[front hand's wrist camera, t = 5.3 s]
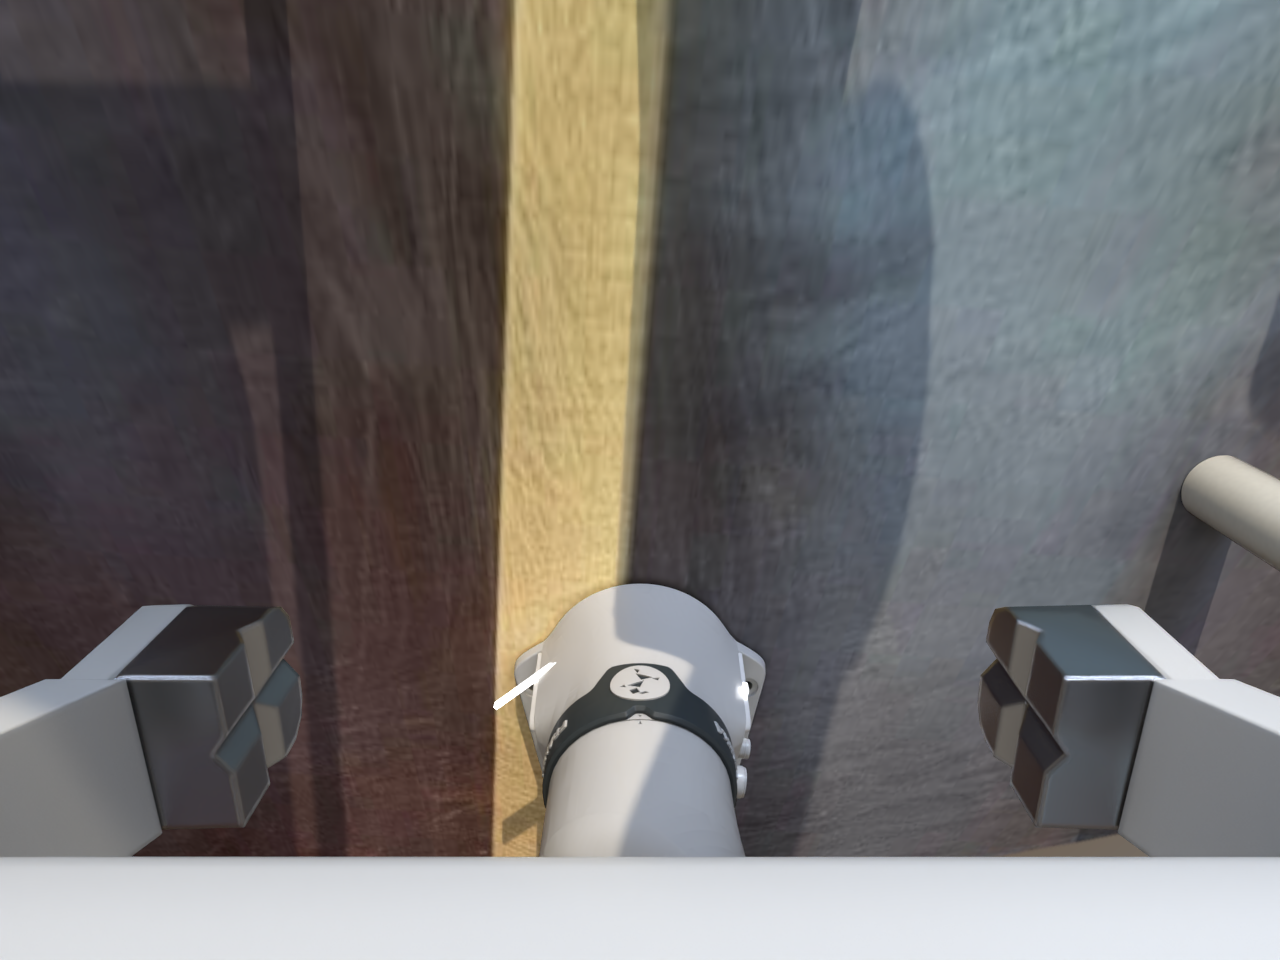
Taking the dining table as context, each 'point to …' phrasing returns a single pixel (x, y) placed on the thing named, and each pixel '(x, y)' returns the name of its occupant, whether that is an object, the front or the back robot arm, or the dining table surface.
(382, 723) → the dining table surface
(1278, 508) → the cream cylinder
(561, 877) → the front robot arm
